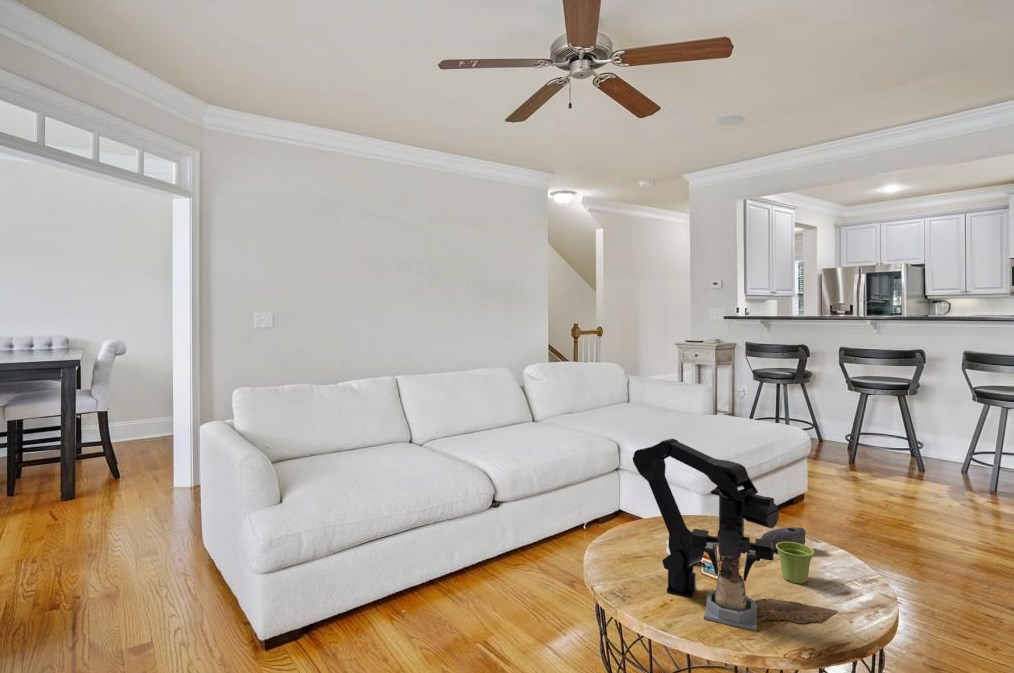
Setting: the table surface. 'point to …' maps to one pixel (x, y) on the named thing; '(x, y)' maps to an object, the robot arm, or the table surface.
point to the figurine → (730, 586)
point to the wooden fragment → (791, 611)
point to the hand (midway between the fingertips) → (730, 577)
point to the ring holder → (731, 613)
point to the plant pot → (794, 561)
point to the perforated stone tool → (785, 536)
